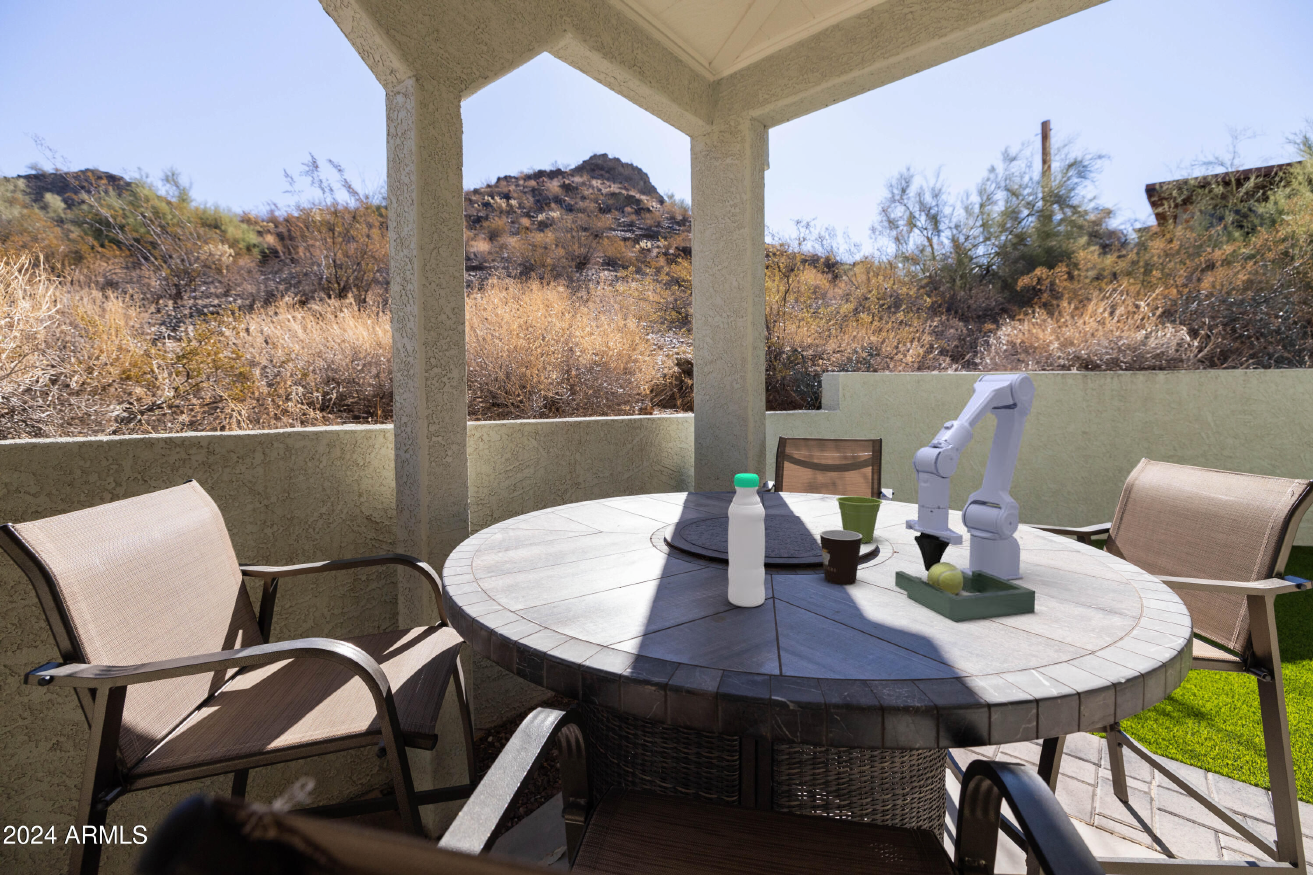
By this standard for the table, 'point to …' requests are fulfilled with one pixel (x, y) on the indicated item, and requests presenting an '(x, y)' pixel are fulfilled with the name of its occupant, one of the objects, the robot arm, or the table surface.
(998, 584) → the chute bay
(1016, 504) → the robot arm
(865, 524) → the plant pot
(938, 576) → the tennis ball
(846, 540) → the coffee mug
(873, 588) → the table surface
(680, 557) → the table surface
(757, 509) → the water bottle
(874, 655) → the table surface
